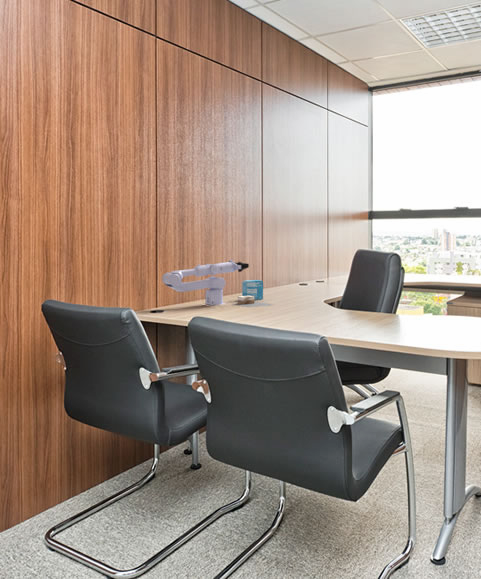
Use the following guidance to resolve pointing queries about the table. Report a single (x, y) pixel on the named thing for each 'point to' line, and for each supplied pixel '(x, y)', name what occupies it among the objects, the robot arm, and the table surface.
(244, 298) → the metal box
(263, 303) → the desk mat
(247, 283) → the data package
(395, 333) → the table surface
